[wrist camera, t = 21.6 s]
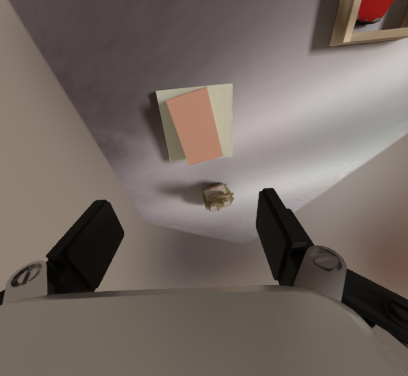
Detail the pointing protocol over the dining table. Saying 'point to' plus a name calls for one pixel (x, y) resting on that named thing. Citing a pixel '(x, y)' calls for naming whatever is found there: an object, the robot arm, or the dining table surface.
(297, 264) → the robot arm
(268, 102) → the dining table surface
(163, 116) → the plate
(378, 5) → the toy car
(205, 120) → the brick
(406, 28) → the car corral
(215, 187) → the toy
